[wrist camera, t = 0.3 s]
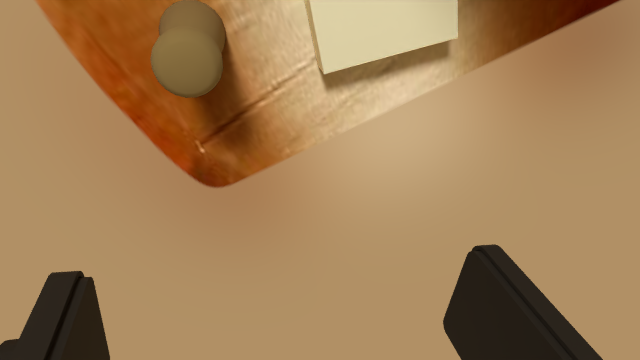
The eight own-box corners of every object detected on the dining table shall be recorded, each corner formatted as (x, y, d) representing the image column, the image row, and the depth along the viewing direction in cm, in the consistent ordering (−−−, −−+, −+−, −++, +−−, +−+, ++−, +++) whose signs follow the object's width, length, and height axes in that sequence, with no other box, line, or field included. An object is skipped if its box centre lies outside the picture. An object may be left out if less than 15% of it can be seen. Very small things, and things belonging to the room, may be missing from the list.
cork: (203, -13, 37) (199, 10, 28) (237, 48, 41) (244, 86, 31) (144, 18, 37) (122, 51, 28) (183, 76, 41) (174, 122, 32)
